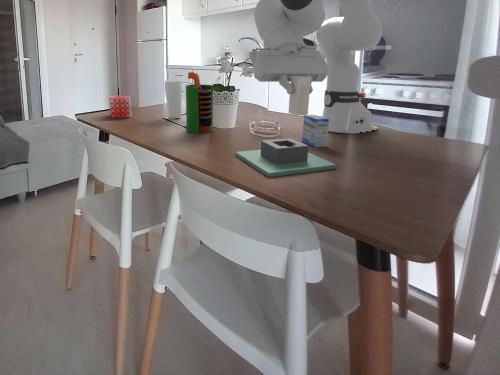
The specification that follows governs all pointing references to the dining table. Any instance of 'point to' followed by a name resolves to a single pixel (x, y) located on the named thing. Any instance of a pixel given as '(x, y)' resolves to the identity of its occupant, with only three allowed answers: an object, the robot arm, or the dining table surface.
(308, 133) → the medicine box
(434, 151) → the dining table surface
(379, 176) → the dining table surface
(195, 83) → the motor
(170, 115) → the drinking glass
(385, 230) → the dining table surface
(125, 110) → the puzzle cube
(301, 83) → the keyed plug
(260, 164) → the socket board
